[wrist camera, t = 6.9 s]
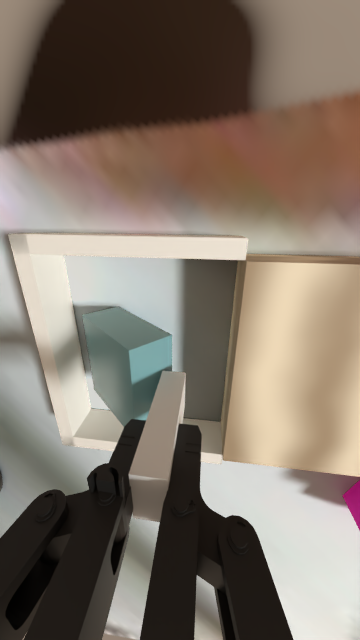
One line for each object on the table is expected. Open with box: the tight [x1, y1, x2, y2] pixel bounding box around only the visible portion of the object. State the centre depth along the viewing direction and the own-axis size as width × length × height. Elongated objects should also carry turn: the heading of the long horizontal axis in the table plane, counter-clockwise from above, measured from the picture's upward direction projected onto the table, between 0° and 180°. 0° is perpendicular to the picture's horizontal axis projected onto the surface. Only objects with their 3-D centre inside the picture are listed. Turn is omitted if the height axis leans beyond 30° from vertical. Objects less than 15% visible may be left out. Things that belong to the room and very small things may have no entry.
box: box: [8, 233, 248, 464], centre depth 18 cm, size 15×18×4 cm
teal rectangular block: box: [82, 307, 172, 427], centre depth 17 cm, size 7×7×3 cm
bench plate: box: [221, 254, 360, 477], centre depth 17 cm, size 12×16×4 cm
